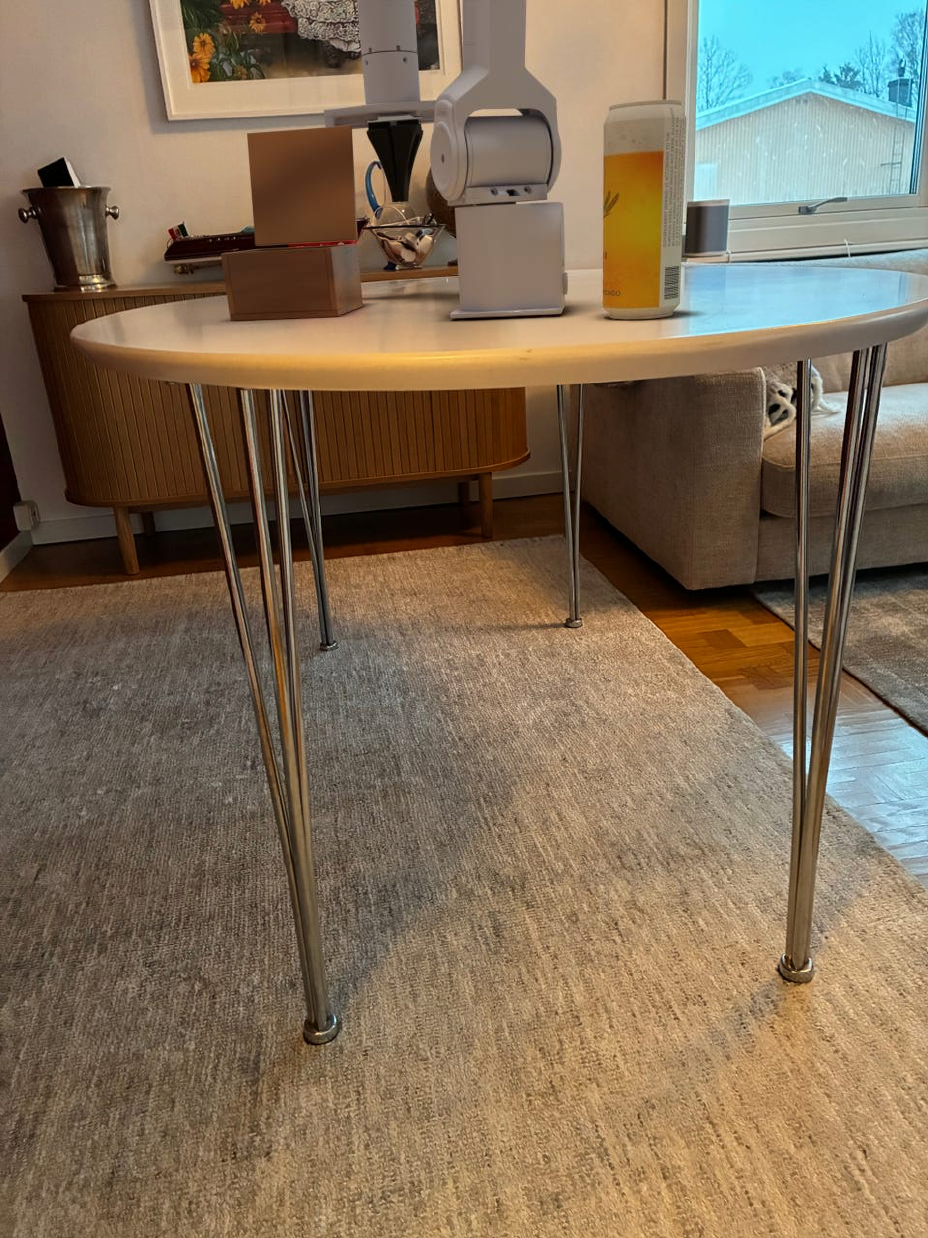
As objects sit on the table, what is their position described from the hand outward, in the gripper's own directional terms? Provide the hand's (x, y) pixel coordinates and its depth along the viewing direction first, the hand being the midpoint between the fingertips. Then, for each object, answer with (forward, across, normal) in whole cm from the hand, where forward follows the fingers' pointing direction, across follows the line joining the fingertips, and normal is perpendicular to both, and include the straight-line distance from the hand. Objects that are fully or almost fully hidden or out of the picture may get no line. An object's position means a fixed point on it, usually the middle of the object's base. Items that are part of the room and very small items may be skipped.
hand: (400, 201), depth 100 cm
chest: (+10, +8, +13) cm, 18 cm away
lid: (-2, +9, +7) cm, 11 cm away
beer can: (+10, -25, +28) cm, 39 cm away
